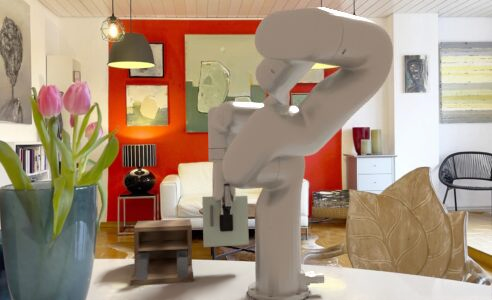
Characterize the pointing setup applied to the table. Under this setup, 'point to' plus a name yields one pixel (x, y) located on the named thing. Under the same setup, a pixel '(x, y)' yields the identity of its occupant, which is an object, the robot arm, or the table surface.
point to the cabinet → (163, 249)
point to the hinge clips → (143, 265)
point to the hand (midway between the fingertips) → (225, 229)
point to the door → (212, 223)
